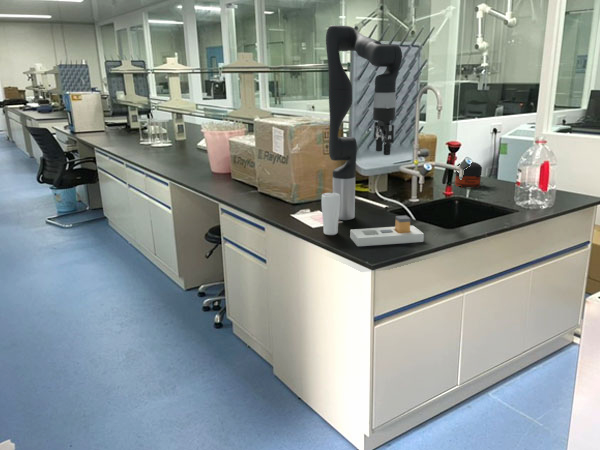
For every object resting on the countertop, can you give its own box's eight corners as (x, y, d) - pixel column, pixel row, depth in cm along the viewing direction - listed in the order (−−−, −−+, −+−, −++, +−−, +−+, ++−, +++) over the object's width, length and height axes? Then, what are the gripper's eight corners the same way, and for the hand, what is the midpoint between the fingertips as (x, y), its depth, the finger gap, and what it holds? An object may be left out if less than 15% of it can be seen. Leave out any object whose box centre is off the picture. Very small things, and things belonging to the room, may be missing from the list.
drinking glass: (338, 230, 182) (338, 192, 178) (340, 236, 176) (341, 196, 172) (320, 230, 182) (320, 192, 178) (322, 236, 176) (322, 197, 171)
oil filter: (470, 182, 261) (449, 184, 258) (472, 159, 258) (451, 161, 254) (485, 186, 249) (464, 188, 246) (487, 163, 246) (466, 165, 242)
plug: (394, 237, 174) (395, 216, 172) (405, 236, 175) (406, 215, 172) (398, 240, 170) (399, 219, 168) (409, 239, 171) (410, 218, 168)
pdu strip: (350, 237, 174) (350, 228, 173) (412, 233, 178) (413, 224, 177) (357, 246, 165) (357, 237, 164) (423, 241, 168) (423, 232, 167)
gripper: (367, 105, 171) (366, 150, 175) (380, 107, 157) (378, 156, 162) (388, 104, 172) (386, 149, 176) (402, 107, 158) (400, 155, 163)
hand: (382, 153), depth 169 cm, fingers open, 8 cm apart
